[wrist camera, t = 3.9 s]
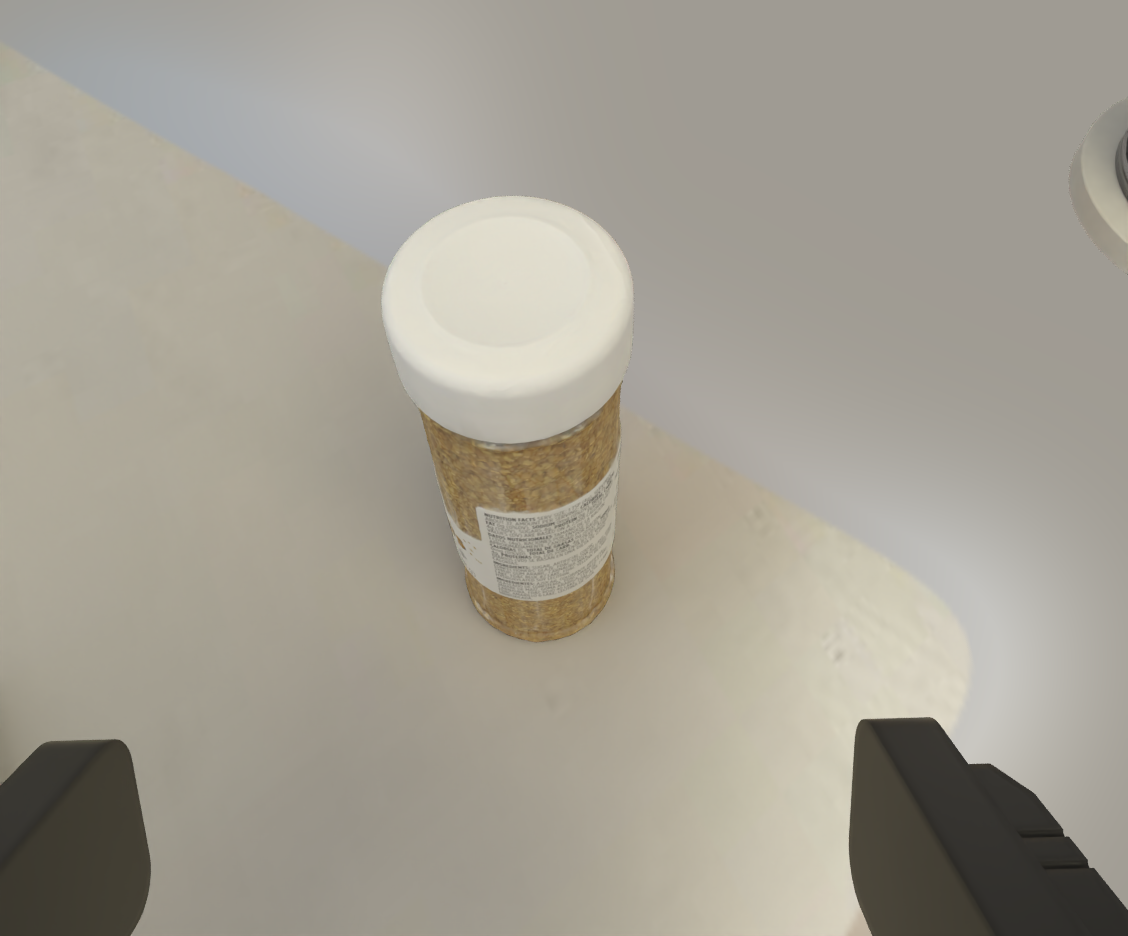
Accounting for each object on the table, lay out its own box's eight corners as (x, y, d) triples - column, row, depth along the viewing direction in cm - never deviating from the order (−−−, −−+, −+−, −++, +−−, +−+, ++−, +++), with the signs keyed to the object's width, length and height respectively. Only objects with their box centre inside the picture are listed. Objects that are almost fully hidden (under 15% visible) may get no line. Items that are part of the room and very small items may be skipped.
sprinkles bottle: (464, 513, 29) (378, 193, 17) (609, 502, 29) (622, 175, 17) (468, 654, 27) (371, 396, 15) (624, 642, 27) (651, 375, 15)
